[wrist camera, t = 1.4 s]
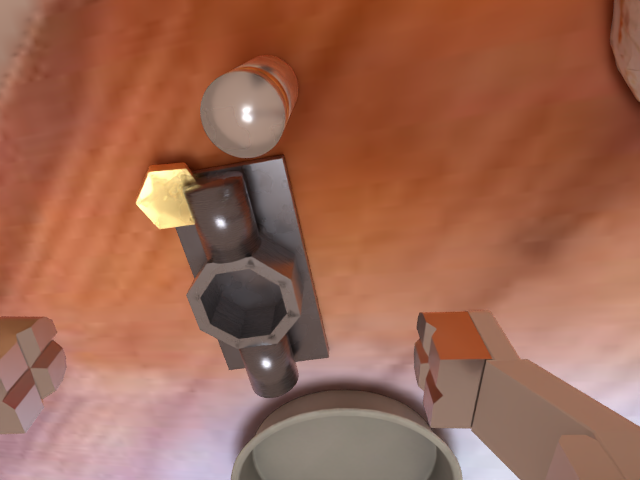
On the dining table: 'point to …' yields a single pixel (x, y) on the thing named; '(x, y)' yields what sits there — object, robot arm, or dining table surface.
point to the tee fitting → (252, 272)
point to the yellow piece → (166, 195)
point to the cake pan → (345, 442)
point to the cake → (627, 42)
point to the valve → (250, 106)
